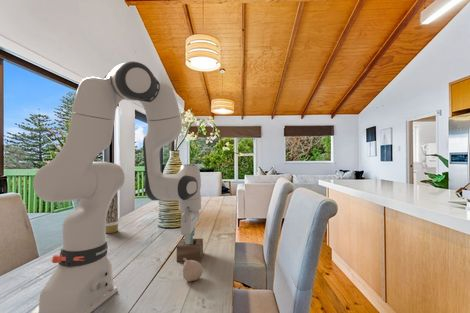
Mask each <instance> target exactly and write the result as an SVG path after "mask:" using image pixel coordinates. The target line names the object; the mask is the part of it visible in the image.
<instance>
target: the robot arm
mask: <svg viewBox="0 0 470 313" xmlns="http://www.w3.org/2000/svg"><path fill="white" fill-rule="evenodd" d="M76 89H77V90H76V93H75V95H74V99H73V104H72V107H71V108H72V110H71V117H70V123H69V127H68V132H67V136H66V138H65V139H66V140H65V142H64V144H63V146H62V148H61V149H60V151H59V152H58V153H57V154H56V155H55V157H53V159H52V160H50V161H49V162H47V163H46V164H45V165H43V166H41V167H40V168H39V169H38V170H37V171H36V173H35V174H34V176H33V180H32V187H33V190H34V193H35V194H36V196H37V197H38V198H39V199H40V200H42V201H44V202H48V203H49V202H50V203H52V202H53V203H65V202H66V203H67V202H72V201H78V200H79V201H78V204H77V206H76V208H75V209H74V210H73V211H72V212H71V213H70V214H68V215H67V216H66V217H65V219H64V220H63V222H62V223H63V224H62V248H61V249H60V252H59V254H58V255H57V254H55V255H53V256H52V258H51V263H52V264H58V265H57V266H56V268H55V270H54V272H52V274H51V276H50V278H49V279H48V280H47V282H46V283H45V285H44V287H43V288H42V289H41V291H40V294H39V300H38V305H37V306H36V307H35V308H34V309H33V310H32V311H31V312H30V313H92V312H94V311H95V310H96V309H97V308H99V307H100V306H101V305H102V304H103V303H105V302H106V301H107V300H108V299H110V298H111V297H112V296H113V295H115V294H116V293H117V292H118V286H116V285H114V276H113V266H112V262H111V261H110V259H109V258H108V256H107V254H108V249H109V248H108V247H109V246H108V241H107V240H106V236H107V233H106V217H107V212H108V209H109V206H110V203H111V201H112V199H113V197H114V196H115V194H116V193H117V192H118V193H119V191H120V190H121V189H122V188H123V186H124V184H125V179H126V178H125V173H124V170H123V168H122V167H121V166H120V165H119V164H117V163H113V162H109V161H95V159H96V158H97V156H99V154H100V153H102V152H103V151H105V150H106V149H108V148H109V147H110V145H111V143H112V137H113V132H114V126H115V119H116V109H118V108H117V107H118V105H119V103H121V101H123V100H126V101H138V102H139V103H140V104H141V105H142V106H143V108H144V111H145V117H146V121H147V131H146V134H145V135H144V137H143V140H142V149H143V150H142V152H143V153H142V154H143V164H144V177H145V178H144V192H145V194H146V196H147V198H148V199H149V200H151V201H154V202H155V201H178V210H179V211H180V212H181V215H180V216H181V217H180V235H181V236H184V239H185V243H186V244H190V243H191V238H190V235H191V233H192V232H193V237H194V236H195V233H196V232H195V231H196V225H197V224H198V222H199V214H200V210H201V209H202V196H201V188H202V179H201V171H200V168H199V167H200V166H197V165H194V164H181V165H180V166H179V171H178V172H177V173H174V174H168V173H165V174H164V173H163V172H162V171H161V163H160V162H161V160H160V158H161V157H160V152H161V149H162V148H164V147H165V146H166V145H168V144H170V143H173V142H174V141H175V140H177V139H178V137H179V136H180V135H181V133H182V129H183V124H182V123H183V122H182V118H181V113H180V109H179V104H178V99H177V98H176V95H175V92H174V90H173V88H172V87H171V86H170V85H168V84H167V83H163V82H160V81H159V80H158V79H157V78H156V76H155V75H154V73H153V72H152V71H151V69H150V68H148V66H147V65H145V64H143V63H141V62H138V61H126V62H121V63H119V64H118V65H116V66H114V67H113V68H112V69H111V70H110V71H109V72H108V73H107V74H106V75H105V76H104V77H103V78H102V77H101V78H100V77H95V76H91V77H89V76H88V77H86V78H83V79H82V80H81V81H80V83H79V85H78V87H77V88H76Z"/></svg>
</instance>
